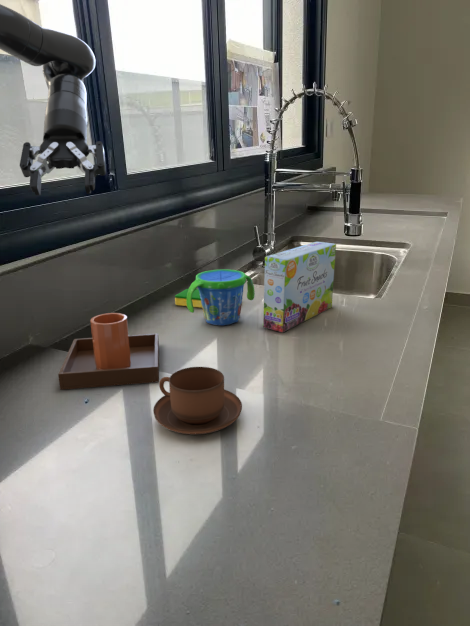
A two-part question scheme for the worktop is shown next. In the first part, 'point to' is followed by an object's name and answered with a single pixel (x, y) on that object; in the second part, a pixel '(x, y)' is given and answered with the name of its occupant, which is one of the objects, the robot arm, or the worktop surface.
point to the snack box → (298, 285)
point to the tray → (85, 375)
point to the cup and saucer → (196, 402)
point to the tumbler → (111, 341)
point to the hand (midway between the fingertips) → (62, 191)
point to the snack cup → (221, 295)
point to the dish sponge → (182, 298)
